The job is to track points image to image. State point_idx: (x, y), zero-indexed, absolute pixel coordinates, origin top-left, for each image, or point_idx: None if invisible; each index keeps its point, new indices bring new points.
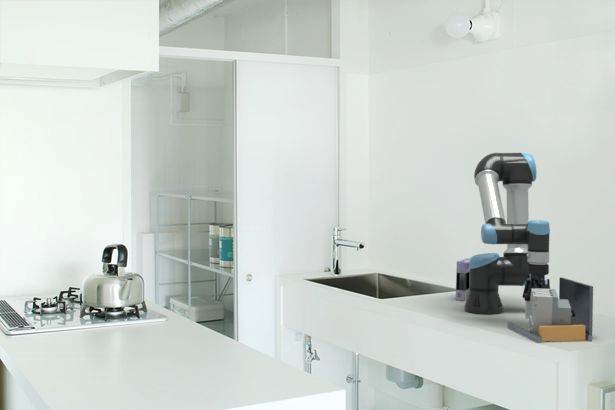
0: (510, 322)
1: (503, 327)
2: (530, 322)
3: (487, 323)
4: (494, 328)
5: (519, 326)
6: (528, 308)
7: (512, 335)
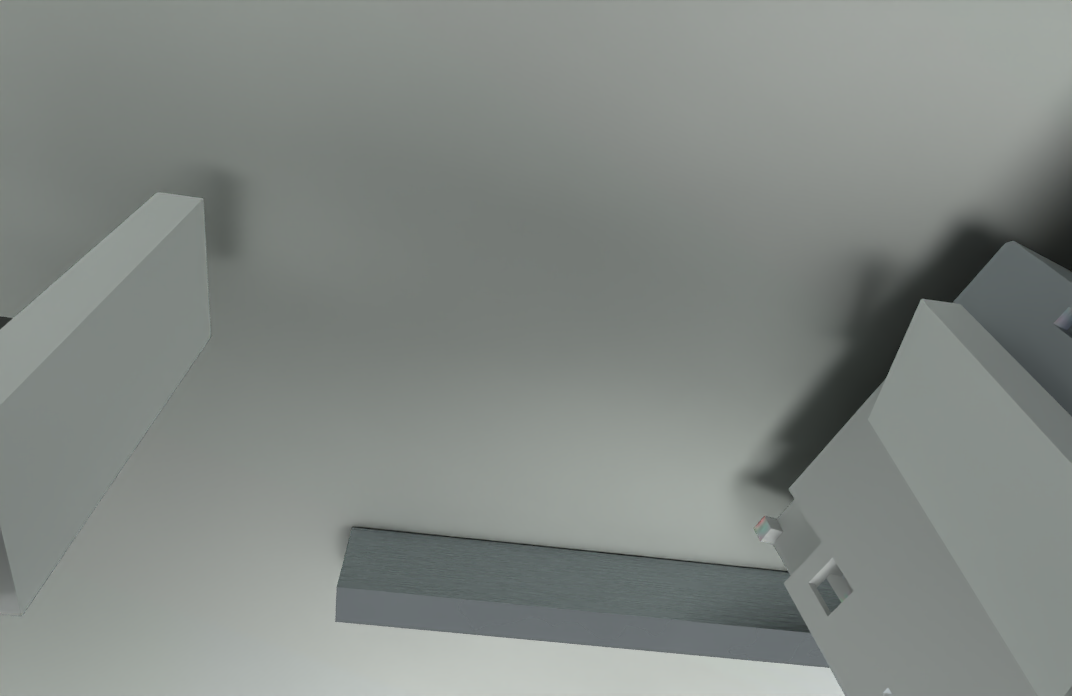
0: (362, 599)
1: (320, 588)
2: (812, 599)
3: (35, 636)
4: (360, 685)
5: (663, 621)
6: (116, 418)
7: (774, 686)
